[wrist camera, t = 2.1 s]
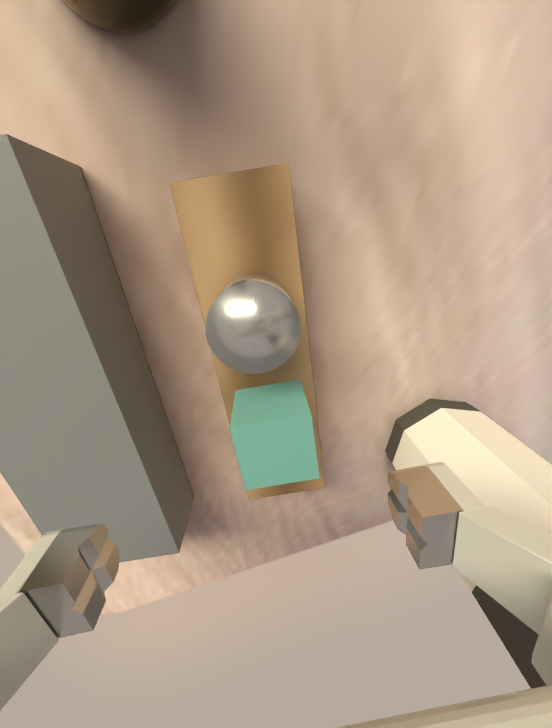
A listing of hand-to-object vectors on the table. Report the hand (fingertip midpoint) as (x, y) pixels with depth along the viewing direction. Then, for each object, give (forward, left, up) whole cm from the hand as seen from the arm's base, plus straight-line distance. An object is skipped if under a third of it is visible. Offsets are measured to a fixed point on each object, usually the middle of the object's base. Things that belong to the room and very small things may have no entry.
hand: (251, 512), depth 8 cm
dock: (+11, 0, -13) cm, 17 cm away
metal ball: (-1, -4, -10) cm, 10 cm away
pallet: (-1, 0, -14) cm, 13 cm away
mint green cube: (-1, +3, -10) cm, 10 cm away
